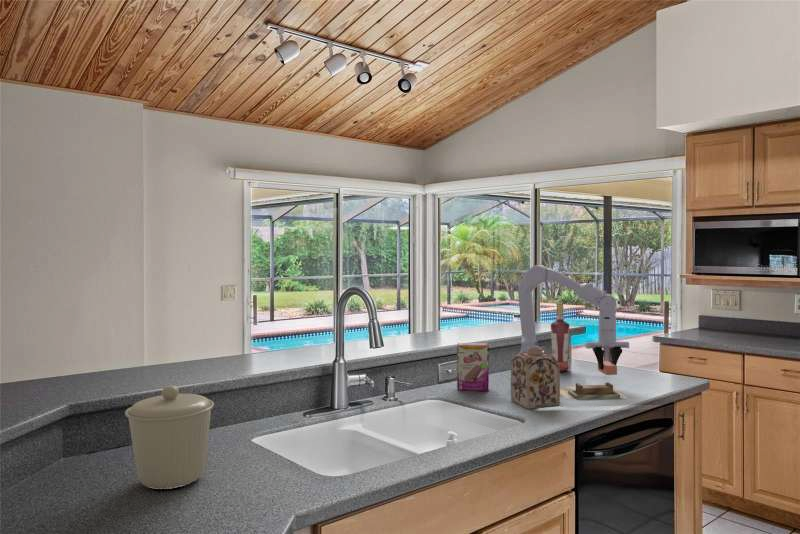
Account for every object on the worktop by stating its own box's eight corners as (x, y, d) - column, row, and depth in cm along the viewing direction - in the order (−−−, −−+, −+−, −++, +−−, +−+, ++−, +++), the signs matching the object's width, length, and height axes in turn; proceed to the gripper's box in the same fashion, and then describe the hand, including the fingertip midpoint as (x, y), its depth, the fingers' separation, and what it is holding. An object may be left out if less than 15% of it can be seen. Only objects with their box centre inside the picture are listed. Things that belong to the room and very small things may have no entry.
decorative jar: (560, 406, 185) (560, 349, 184) (527, 410, 182) (527, 352, 181) (541, 397, 196) (541, 344, 196) (510, 400, 193) (509, 346, 193)
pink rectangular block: (606, 374, 198) (606, 366, 197) (597, 370, 206) (597, 361, 205) (617, 374, 198) (617, 365, 198) (607, 369, 206) (607, 361, 206)
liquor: (570, 373, 234) (569, 303, 233) (551, 372, 236) (550, 302, 235) (569, 369, 241) (568, 301, 241) (550, 368, 243) (550, 301, 242)
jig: (567, 402, 189) (567, 396, 189) (552, 390, 206) (552, 384, 206) (628, 401, 190) (628, 394, 190) (609, 389, 206) (609, 383, 206)
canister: (187, 460, 141) (185, 373, 141) (232, 478, 130) (230, 383, 129) (111, 484, 127) (108, 388, 127) (153, 506, 116) (151, 400, 115)
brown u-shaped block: (579, 397, 191) (579, 385, 191) (575, 394, 195) (575, 383, 195) (613, 396, 191) (613, 385, 191) (608, 393, 195) (608, 382, 195)
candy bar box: (457, 391, 207) (456, 345, 206) (457, 388, 212) (456, 342, 211) (489, 391, 206) (488, 345, 205) (488, 388, 211) (488, 342, 210)
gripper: (590, 331, 197) (590, 371, 197) (633, 330, 197) (632, 371, 198) (583, 328, 204) (583, 367, 204) (624, 328, 204) (624, 366, 205)
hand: (607, 369), depth 202 cm, fingers closed on pink rectangular block, 4 cm apart
